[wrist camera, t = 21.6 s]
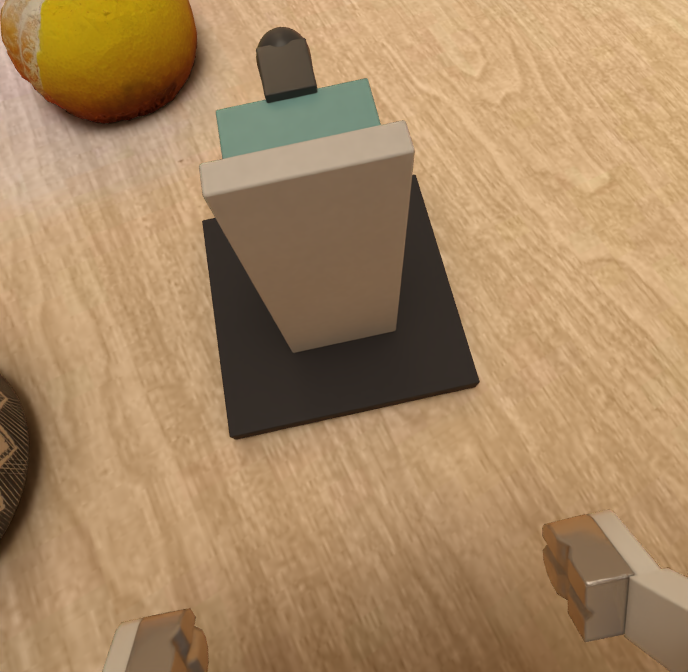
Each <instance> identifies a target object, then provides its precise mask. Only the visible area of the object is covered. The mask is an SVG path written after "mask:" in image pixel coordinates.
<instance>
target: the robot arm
mask: <svg viewBox="0 0 688 672" xmlns="http://www.w3.org/2000/svg"><path fill="white" fill-rule="evenodd" d="M542 536H543V538H544V540H545V541H546V543H547V545H546V546H545V548H544V549H543V560H544V564H545V568H546V572H547V574H548V577H549V579H550V581H551V584H552V585H553V587H554V589H555V591H556V593H557V594H558V595H560V596H561V597H563V598H564V599H566V600H568V614H569V616H570V618H571V619H572V621H573V623H574V625H575V626H576V628H577V630H578V632H579V633H580V635H581V637H582V639H583V640H584V642H589V641H594V640H599V639H604V638H608V637H613V636H618V635H623V634H625V635H624V637H626V638H627V639H628V640H630V641H631V642H632V643H634V644H635V645H636V646H638V647H639V648H640V649H641V650H643V651H644V652H645V653H647V654H648V655H649V656H651V657H652V658H653V659H655V660H656V661H657V662H659V663H660V664H661V665H663V666H664V667H665V668H667V669H668V670H669V671H671V672H688V578H687V577H685V576H683V575H682V574H680V573H678V572H676V571H674V570H672V569H670V568H664V569H661V568H660V567H659V565H658V564H657V563H656V562H655V561H654V559H653V558H652V557H651V556H650V555H649V553H648V552H647V551H646V550H645V549H644V547H643V546H642V545H641V544H640V543H639V541H638V540H637V539H636V538H635V537H634V535H633V534H632V533H631V532H630V531H629V529H628V528H627V527H626V526H625V525H624V523H623V522H622V521H621V520H620V519H619V517H618V516H617V515H616V514H615V512H613V511H611V510H610V509H607V510H602V511H598V512H594V513H590V514H587V515H586V514H583V515H579V516H575V517H571V518H567V519H563V520H559V521H555V522H551V523H547V524H544V526H543V528H542ZM195 619H196V617H195V615H194V613H193V612H192V610H191V608H188V609H183V610H178V611H173V612H168V613H163V614H158V615H153V616H148V617H143V618H139V619H134V620H130V621H125V622H121V624H120V625H119V627H118V628H117V629H116V631H115V634H114V637H113V640H112V643H111V646H110V649H109V652H108V655H107V658H106V661H105V664H104V667H103V670H102V672H208V664H209V654H208V644H207V640H206V636H205V634H204V632H203V630H202V629H200V628H198V627H195V626H194V625H195Z"/></svg>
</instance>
